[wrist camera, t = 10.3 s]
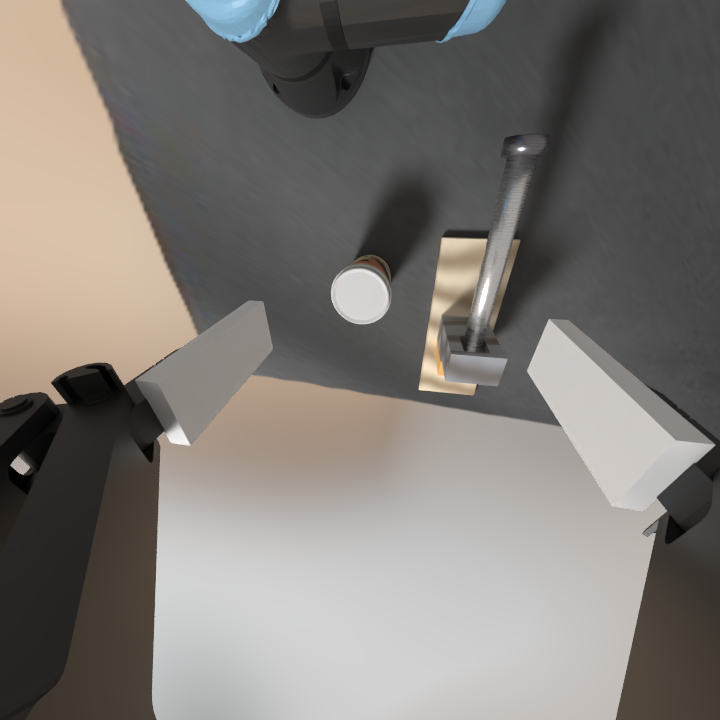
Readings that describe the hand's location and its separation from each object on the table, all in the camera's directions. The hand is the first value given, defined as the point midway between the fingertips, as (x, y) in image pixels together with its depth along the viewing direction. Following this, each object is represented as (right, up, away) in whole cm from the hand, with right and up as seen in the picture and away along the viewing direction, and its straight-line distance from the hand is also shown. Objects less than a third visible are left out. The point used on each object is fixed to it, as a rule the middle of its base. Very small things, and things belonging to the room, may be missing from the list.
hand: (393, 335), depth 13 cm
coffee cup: (0, +15, +37) cm, 40 cm away
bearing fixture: (+18, +6, +40) cm, 44 cm away
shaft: (+17, +12, +25) cm, 32 cm away
